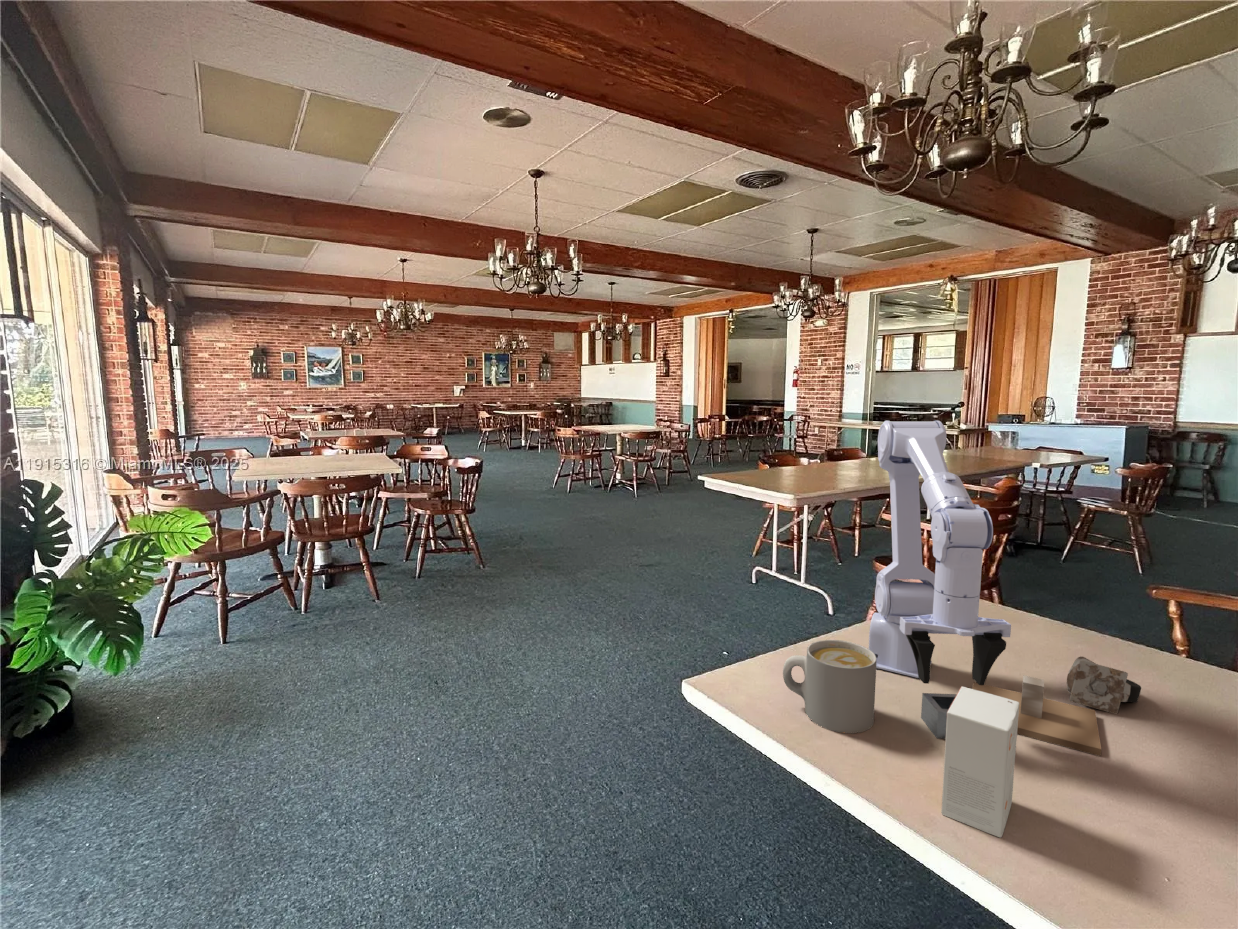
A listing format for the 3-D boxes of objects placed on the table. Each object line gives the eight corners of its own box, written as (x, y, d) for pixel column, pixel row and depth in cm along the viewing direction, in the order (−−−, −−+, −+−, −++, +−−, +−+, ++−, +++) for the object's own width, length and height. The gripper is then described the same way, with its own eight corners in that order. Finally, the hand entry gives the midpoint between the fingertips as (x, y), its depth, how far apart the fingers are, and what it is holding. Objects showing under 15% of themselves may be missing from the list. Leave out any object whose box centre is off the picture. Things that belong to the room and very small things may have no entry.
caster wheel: (1115, 702, 101) (1153, 725, 91) (1041, 681, 104) (1070, 702, 94) (1125, 663, 101) (1165, 683, 91) (1050, 643, 103) (1081, 660, 94)
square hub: (936, 738, 87) (938, 712, 86) (921, 717, 92) (922, 693, 92) (975, 739, 86) (977, 713, 86) (957, 719, 92) (959, 694, 91)
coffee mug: (881, 711, 94) (884, 650, 93) (862, 741, 86) (865, 675, 85) (797, 686, 102) (799, 629, 101) (773, 711, 94) (775, 650, 93)
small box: (954, 780, 78) (961, 684, 76) (1012, 802, 74) (1021, 701, 72) (939, 815, 71) (945, 711, 70) (1001, 840, 67) (1010, 731, 66)
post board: (965, 720, 91) (968, 682, 91) (973, 687, 101) (975, 653, 100) (1100, 756, 82) (1104, 715, 81) (1094, 716, 92) (1098, 679, 91)
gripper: (915, 599, 83) (910, 693, 85) (1026, 602, 82) (1018, 696, 84) (896, 583, 90) (891, 669, 92) (998, 585, 89) (991, 672, 91)
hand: (950, 681), depth 88 cm, fingers open, 7 cm apart
